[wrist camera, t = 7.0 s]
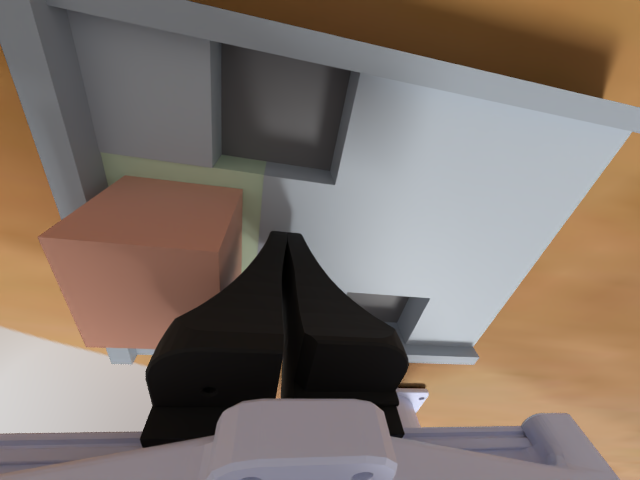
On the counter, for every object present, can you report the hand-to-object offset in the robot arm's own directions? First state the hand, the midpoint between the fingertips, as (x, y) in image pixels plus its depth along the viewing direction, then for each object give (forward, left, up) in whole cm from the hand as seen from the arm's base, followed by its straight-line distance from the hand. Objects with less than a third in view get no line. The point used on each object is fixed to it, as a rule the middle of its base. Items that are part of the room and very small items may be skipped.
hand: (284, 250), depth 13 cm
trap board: (0, -3, -3) cm, 4 cm away
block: (0, +4, -1) cm, 4 cm away
